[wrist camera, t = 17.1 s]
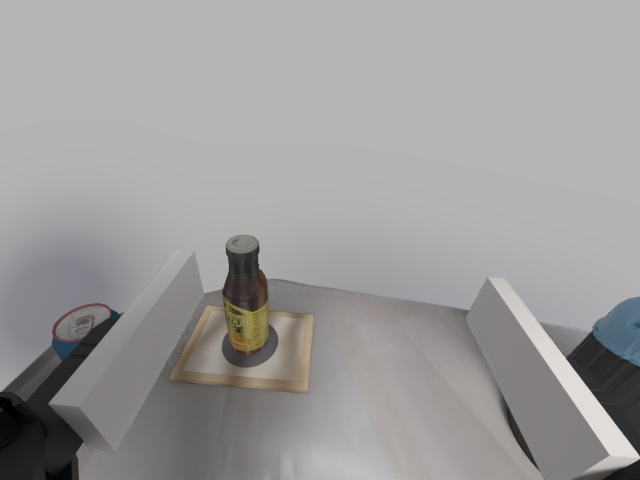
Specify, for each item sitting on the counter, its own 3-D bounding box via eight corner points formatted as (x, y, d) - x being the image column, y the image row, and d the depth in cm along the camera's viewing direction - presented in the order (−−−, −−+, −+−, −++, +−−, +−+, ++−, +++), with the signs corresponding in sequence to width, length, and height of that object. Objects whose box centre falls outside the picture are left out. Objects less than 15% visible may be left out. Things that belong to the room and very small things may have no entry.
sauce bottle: (224, 335, 46) (206, 234, 35) (259, 320, 49) (253, 223, 39) (239, 366, 42) (224, 262, 31) (276, 347, 45) (274, 247, 34)
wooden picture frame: (313, 317, 52) (314, 314, 51) (307, 393, 40) (307, 389, 40) (207, 308, 52) (206, 304, 52) (170, 380, 40) (168, 377, 40)
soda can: (87, 366, 41) (50, 310, 35) (141, 347, 44) (116, 293, 38) (83, 410, 36) (39, 354, 30) (144, 385, 40) (116, 330, 33)
